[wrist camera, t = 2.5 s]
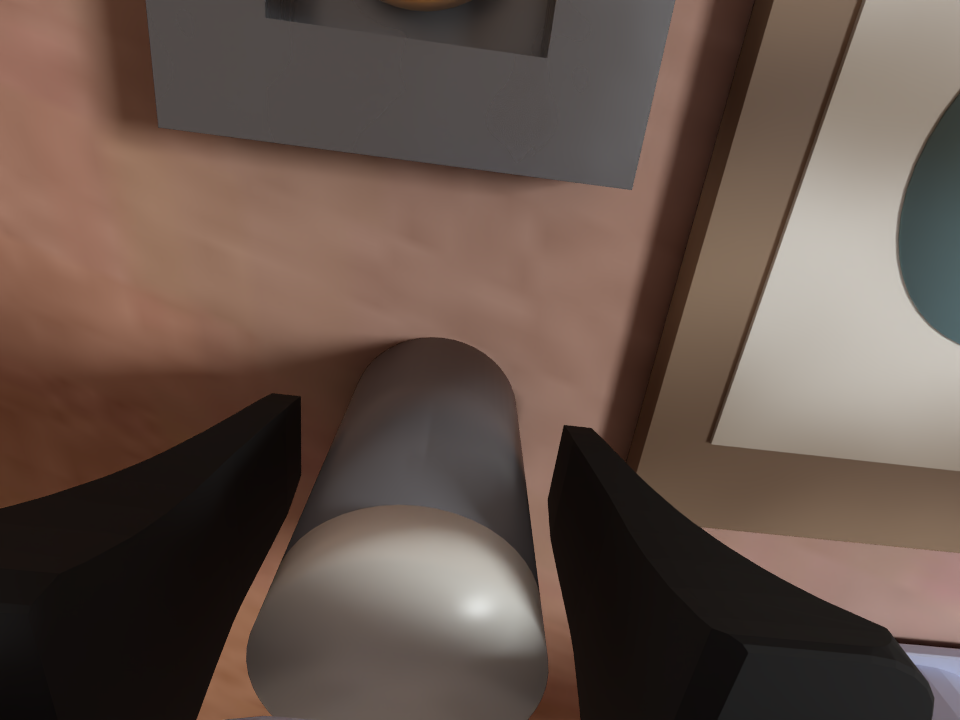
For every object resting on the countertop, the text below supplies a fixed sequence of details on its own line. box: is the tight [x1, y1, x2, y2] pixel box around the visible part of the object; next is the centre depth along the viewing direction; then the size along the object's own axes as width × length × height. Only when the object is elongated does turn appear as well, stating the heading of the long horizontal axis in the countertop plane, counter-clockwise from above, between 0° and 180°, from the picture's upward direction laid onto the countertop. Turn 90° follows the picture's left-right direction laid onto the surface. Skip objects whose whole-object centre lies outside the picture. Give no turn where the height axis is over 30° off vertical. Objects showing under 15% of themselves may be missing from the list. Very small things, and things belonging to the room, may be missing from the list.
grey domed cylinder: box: [246, 338, 548, 720], centre depth 11 cm, size 4×4×7 cm
